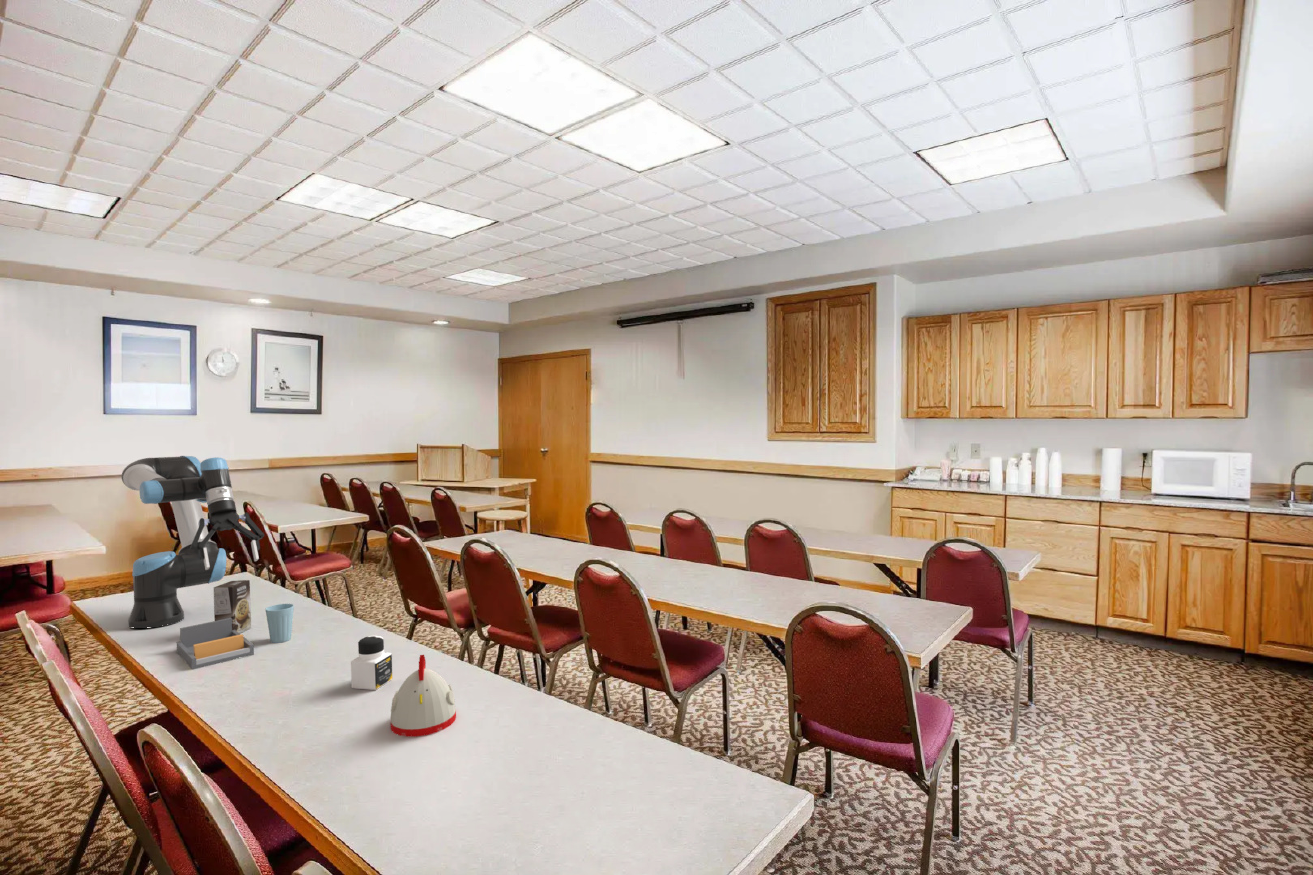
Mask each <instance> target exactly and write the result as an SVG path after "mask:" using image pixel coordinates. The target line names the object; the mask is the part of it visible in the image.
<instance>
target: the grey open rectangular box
mask: <svg viewBox="0 0 1313 875" xmlns="http://www.w3.org/2000/svg"><path fill="white" fill-rule="evenodd" d="M241 634H242V633H238V632H237V631H236V630H232V619H231V618H228V619H223V620H218V621H215V620H214V621H209V622H204V623H199V624H195V625H190V626H184V627H179V635H180V636H179V637H180V640H179V641H177V642H176V654H177V655H179V657H180V658H181V659H182V658H183V659H182V660H183V661H184V662H185V663H186V664H187V666H188V667H189V668H190V669H191V670H195V669H200V668H204V666H205V667H208V666H212V665H216V663H217V664H221V663H224V662H223V661H225V662H230V661H233V659H234V660H236V658H238V659H240V658H239V657H242V658H245V657H249V656H253V655H255V653H254V652H255V651H254V650H255V649H254V646H255V645H254V643H253V642H251V641H250V640H249V639H247V638H246V637H245V636H244V648H243V649H239V650H235V651H231V652H226V653H222V654H218V655H214V656H209V657H205V658H201V659H196V657H195V656H194V647H193V645H195V644H200V643H204V642H209V641H213V640H218V639H222V638H227V637H232V636H236V635H241ZM220 662H221V663H220Z"/></svg>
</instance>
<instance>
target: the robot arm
mask: <svg viewBox="0 0 1313 875" xmlns="http://www.w3.org/2000/svg"><path fill="white" fill-rule="evenodd" d="M121 481H122V483H123V485H125V486H126V487H127V488H129V489H130V490H134V491H139V498H140V501H141V503H142V504H144V505H149V504H152V505H157V504H163V503H171V507H172V512H173V514H174V515H173V516H174V518H175V519H174V520H175V524H176V527H177V532H178V536H179V540H180V544H181V545H180V546H181V548H180V549H179V550H178V552H177V553H178V554H176V552H175V551H173V550H172V551H171V550H168V551H161V552H155V553H152V554H148V555H145V556H141V557H140V558H137V559H136V560H135V561H134V562H133V564H132V573H131V575H132V579H133V580H132V583H133V584H132V585H133V606H132V608H131V612H130V615H129V618H128V624H127V625H128V628H129V627H134V628H147V627H157V628H159V627H158V626H162V625H167V624H171V623H174V624H177V623H179V622H181V621H183V620H184V619H185V613H184V612H185V611H184V609H183V607H182V605H181V603H180V601H179V598H178V592H177V590H179V589H182V588H183V589H184V588H189V587H194V586H199V585H201V586H202V585H205V584H211V583H215V582H220V581H221V580H222V579H223V578H224V577H225V574H226V571H227V570H226V569H227V553H226V550H225V549H224V548H219V547H218V545H217V543H216V542H215V541H213V540H211V538H212V536H213V535H214V534H215V533H216V531H220V532H222V531H231V530H232V529H234V530H236V531H238V532H239V533H241V534H242V535H244V536H245V537H247V538H248V539H249V540H251V542H250V545H251V546H250V547H251V551H252V556H253V561H254V562H257V561H258V560H259V559H260V558H259V550H260V549H261V545H260V540H262V539H263V538H264V537H265V533H264V532H263V531H262V530H261V529H260V528H259V527H258V525H257V524H256V523H255V522H254V521H253V519H251V517H250V514H249V512H245V513H243V514H238V511H237V507H236V502H235V497H234V496H235V495H234V493H233V487H232V482H231V476H230V471H229V466H228V462H227V460H226V459H225V458H223V457H209V458H206V459H204V460H202V461H200V460H199V459H198V458H197V457H196V456H192V455H191V456H189V455H180V456H161V457H145V458H141V459H137V460H134V461H132V462H131V463H129V464H128V465H126V467H124V469H123V470H122V473H121ZM201 503H204V504H205V503H206V504H207V509H208V510H207V511H208V516H209V518H206V519H205V516H204V512H203V508H202V504H201ZM239 520H241V521H242V522H244V523H245V525H246V526H247V527H248V528H249V529H250V530H249V529H248V528H246V527H245V526H243V525H242V524H241V523H240V522H239ZM208 524H209V525H211V526H212V528H211V529H210V531H208V526H207V525H208ZM182 619H183V620H182ZM180 620H181V621H180ZM178 621H179V622H178ZM176 622H177V623H176ZM171 625H172V624H171ZM167 626H168V625H167ZM162 627H163V626H162Z"/></svg>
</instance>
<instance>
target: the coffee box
mask: <svg viewBox="0 0 1313 875" xmlns="http://www.w3.org/2000/svg"><path fill="white" fill-rule="evenodd" d="M250 581H251V580H250V579H246V580H245V579H243V580H241V579H240V580H231V581H230V580H229V581H227V582H225V583H222V584H218V585H217V586H214V587H213V609H214V610H213V611H214V612H213V613H214V617H213V618H214V619H213V620H214V621H218V620H223V619H228V618H231V619H232V630H236V631H237V632H238V633H240V634H243V633H244V632H247V631H248V630H250V629H252V607H251V582H250ZM243 631H244V632H243Z"/></svg>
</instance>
